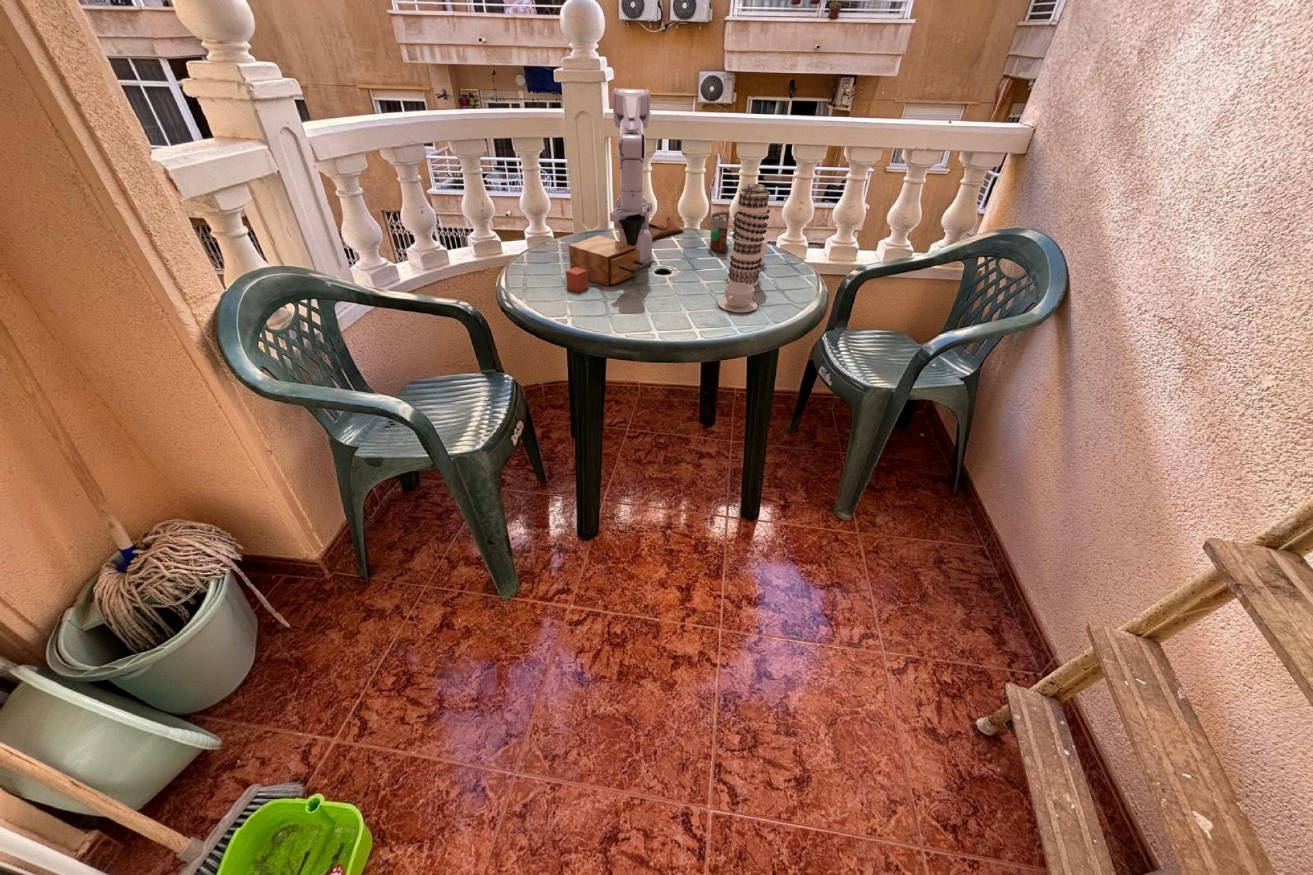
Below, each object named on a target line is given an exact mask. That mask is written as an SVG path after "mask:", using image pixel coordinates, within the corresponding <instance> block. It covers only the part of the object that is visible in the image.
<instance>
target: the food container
mask: <svg viewBox="0 0 1313 875" xmlns="http://www.w3.org/2000/svg"><path fill="white" fill-rule="evenodd" d="M729 222H730V211H717V212H714V213H711V215H710V217H709V220H708V224H709V225H710V245H709V246H710V250H711V251H713V252H715V253H719V254H726V249H727V240H728V232H729Z"/></svg>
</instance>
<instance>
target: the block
mask: <svg viewBox="0 0 1313 875" xmlns="http://www.w3.org/2000/svg"><path fill="white" fill-rule="evenodd" d="M565 277H566V289H568V290H571V291H573V292H576V293H580V292H582V291H585V290H587V289H589V280H588V274H587V270H584V269H581V268H578V267H575V268H573V269H570V268H569V269H567V270H565Z"/></svg>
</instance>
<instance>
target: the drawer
mask: <svg viewBox="0 0 1313 875" xmlns="http://www.w3.org/2000/svg"><path fill="white" fill-rule="evenodd" d="M608 259H609V281H610V280H611V283H612V285H616V284H619V283H620V282H623V281H626V280H628V279H630V278H632V277H635V276H637V275H639V274H640V273H641V272H644V271H646V270H648V269H649V270H650V269H651V268H652V263H651V262H647V263H642V262H640V251H639V250H635V251H632V250H630V251H627V252H625V253H622V254H619V255H617V256H614V257H611V258H608Z"/></svg>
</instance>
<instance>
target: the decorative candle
mask: <svg viewBox="0 0 1313 875" xmlns="http://www.w3.org/2000/svg"><path fill="white" fill-rule="evenodd" d="M738 193H739V195H738V202H737V205H736V206H737V207H736V210H737V211H736V212H734V215H733V218H734V219H733V222H732V224H733V229H732V232H733V233H732V236H731V237H732V240H733V241H734V242H733V248H732V249H731V255H730V257H729V258H730V261H729V264H730V266H729V268H728V272H729V273H728V275H727V277H728V279H727V282H728V284H730V283H744V284H748V285H751V286H752V287H753V288H755V287H756V286H758V284H759V278H760V276H759V275H760V273H761V270H760V268H761V266H762V265H761V264H760V262H761V260H762V258H761V252H762V251H761V248H762V243H763V242H764V239H766V238H765V237H764V234H766V233H767V229H766V228H768V223H766V221H767V220H769V219H770V215H769V214H770V212H771V209H769V198H770V195H771V192H770V191H768V187H767V186H766V185H764V184H761V183H760V184H759V183H747V184H744V185H743V186H742V188H741V189H739V190H738Z"/></svg>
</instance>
